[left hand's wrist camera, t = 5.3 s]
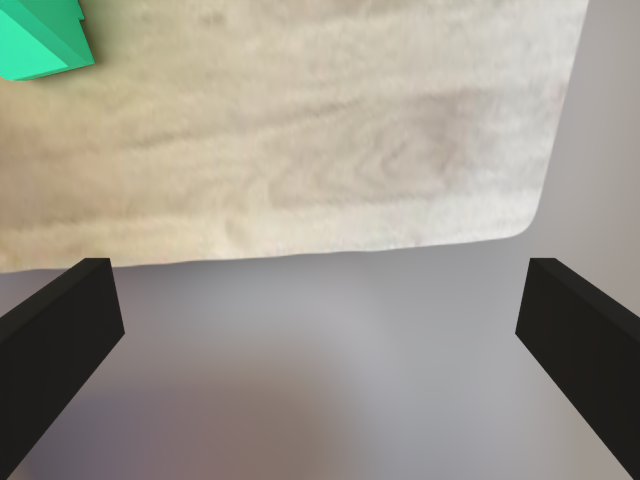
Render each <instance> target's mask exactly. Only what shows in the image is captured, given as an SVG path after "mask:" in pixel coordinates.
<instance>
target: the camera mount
mask: <svg viewBox="0 0 640 480" xmlns="http://www.w3.org/2000/svg"><path fill="white" fill-rule="evenodd" d="M80 20H84V16H83V13H82V11H81V8H80V5H79V3H78V0H0V76H1V77H3V78H5V79H7V80H17V81H26V80H30V79H34V78H38V77H42V76H47V75H51V74H55V73H59V72H63V71H67V70H71V69H75V68H79V67H83V66H87V65H92V64H95V62H94V59H93V57H92V54H91V51H90V49H89V46H88V43H87V41H86V38H85V35H84V33H83V30H82V27H81V25H80V22H79V21H80Z"/></svg>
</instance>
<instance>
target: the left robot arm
mask: <svg viewBox="0 0 640 480" xmlns="http://www.w3.org/2000/svg"><path fill="white" fill-rule="evenodd" d="M124 334H125V331H124V326H123V321H122V316H121V312H120V306H119V301H118V297H117V292H116V287H115V282H114V277H113V272H112V267H111V262H110V258H84V259H83V260H82V261H80V262H79V263H77V264H76V265H74V266H73V267H72V268H70V269H69V270H67V271H66V272H65V273H63V274H62V275H60V276H59V277H57V278H56V279H55V280H53V281H52V282H50V283H49V284H47V285H46V286H45V287H43V288H42V289H40V290H39V291H38V292H36V293H35V294H33V295H32V296H30V297H29V298H28V299H26V300H25V301H23V302H22V303H21V304H19V305H18V306H16V307H15V308H13V309H12V310H10V311H9V312H8V313H6V314H5V315H3V316H2V317H1V318H0V480H7V478H8V477H9V476H10V475H11V473H12V472H13V471H14V470H15V468H16V467H17V466H18V465H19V464H20V462H21V461H22V460H23V459H24V457H25V456H26V455H27V454H28V452H29V451H30V450H31V449H32V448H33V446H34V445H35V444H36V443H37V441H38V440H39V439H40V438H41V436H42V435H43V434H44V433H45V431H46V430H47V429H48V428H49V426H50V425H51V424H52V423H53V422H54V420H55V419H56V418H57V417H58V415H59V414H60V413H61V412H62V411H63V409H64V408H65V407H66V406H67V404H68V403H69V402H70V401H71V399H72V398H73V397H74V396H75V394H76V393H77V392H78V391H79V390H80V388H81V387H82V386H83V385H84V383H85V382H86V381H87V380H88V378H89V377H90V376H91V375H92V373H93V372H94V371H95V370H96V369H97V367H98V366H99V365H100V364H101V362H102V361H103V360H104V359H105V357H106V356H107V355H108V354H109V353H110V351H111V350H112V349H113V348H114V346H115V345H116V344H117V343H118V341H119V340H120V339H121V338H122V336H123V335H124ZM515 334H516V335H517V336H518V338H519V339H520V340H521V341H522V343H523V344H524V345H525V346H526V348H527V349H528V350H529V351H530V353H531V354H532V355H533V356H534V357H535V359H536V360H537V361H538V362H539V364H540V365H541V366H542V367H543V368H544V370H545V371H546V372H547V373H548V375H549V376H550V377H551V378H552V380H553V381H554V382H555V383H556V385H557V386H558V387H559V388H560V390H561V391H562V392H563V393H564V394H565V396H566V397H567V398H568V399H569V401H570V402H571V403H572V404H573V406H574V407H575V408H576V409H577V410H578V412H579V413H580V414H581V415H582V417H583V418H584V419H585V420H586V422H587V423H588V424H589V425H590V427H591V428H592V429H593V430H594V431H595V433H596V434H597V435H598V436H599V438H600V439H601V440H602V441H603V443H604V444H605V445H606V446H607V447H608V449H609V450H610V451H611V452H612V454H613V455H614V456H615V457H616V459H617V460H618V461H619V462H620V464H621V465H622V466H623V467H624V468H625V470H626V471H627V472H628V473H629V475H630V476H631V477H632V478H633V480H640V318H639V317H638V316H637V315H635V314H634V313H632V312H631V311H629V310H628V309H627V308H625V307H624V306H622V305H621V304H619V303H618V302H617V301H615V300H614V299H612V298H611V297H609V296H608V295H607V294H605V293H604V292H602V291H601V290H600V289H598V288H597V287H595V286H594V285H593V284H591V283H590V282H588V281H587V280H585V279H584V278H583V277H581V276H580V275H578V274H577V273H575V272H574V271H573V270H571V269H570V268H568V267H567V266H566V265H564V264H563V263H561V262H560V261H558V260H557V259H556V258H530V262H529V267H528V272H527V277H526V282H525V287H524V292H523V297H522V302H521V307H520V312H519V316H518V321H517V326H516V331H515Z"/></svg>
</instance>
